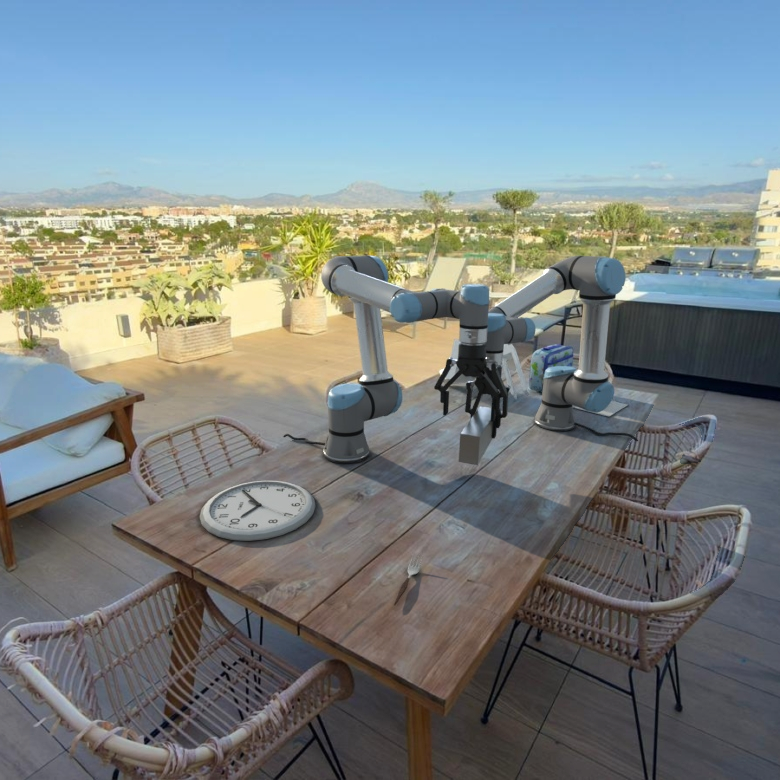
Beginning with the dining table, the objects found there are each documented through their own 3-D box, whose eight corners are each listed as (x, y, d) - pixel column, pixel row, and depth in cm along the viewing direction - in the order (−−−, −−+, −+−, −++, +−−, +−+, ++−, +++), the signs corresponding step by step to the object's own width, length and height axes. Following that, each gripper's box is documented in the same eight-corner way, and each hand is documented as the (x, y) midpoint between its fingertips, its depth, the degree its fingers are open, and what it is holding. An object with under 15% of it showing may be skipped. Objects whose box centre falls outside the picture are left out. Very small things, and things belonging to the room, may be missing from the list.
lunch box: (545, 397, 238) (550, 352, 231) (524, 391, 245) (529, 348, 239) (572, 386, 255) (578, 344, 249) (552, 381, 262) (557, 340, 256)
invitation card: (608, 416, 214) (573, 407, 224) (608, 416, 214) (573, 408, 224) (628, 404, 229) (594, 396, 238) (628, 405, 229) (594, 397, 238)
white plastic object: (461, 429, 252) (437, 405, 227) (444, 352, 274) (420, 323, 250) (535, 404, 240) (518, 377, 215) (510, 326, 262) (492, 293, 237)
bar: (478, 431, 171) (480, 406, 168) (495, 434, 169) (497, 408, 166) (458, 461, 148) (460, 433, 146) (477, 465, 146) (479, 436, 144)
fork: (388, 605, 105) (388, 597, 104) (412, 560, 119) (412, 553, 119) (400, 609, 104) (400, 600, 104) (423, 563, 119) (423, 555, 118)
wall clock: (312, 532, 127) (184, 536, 124) (312, 538, 127) (185, 542, 125) (317, 476, 155) (214, 478, 153) (318, 481, 156) (214, 483, 153)
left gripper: (424, 341, 143) (422, 415, 149) (517, 349, 134) (511, 427, 140) (432, 337, 149) (430, 407, 155) (521, 344, 140) (515, 418, 146)
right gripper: (456, 364, 159) (452, 435, 166) (518, 371, 153) (511, 444, 160) (462, 358, 166) (458, 427, 173) (522, 365, 159) (515, 435, 166)
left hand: (468, 417), depth 147 cm, fingers open, 13 cm apart
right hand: (484, 435), depth 166 cm, fingers closed on bar, 6 cm apart
